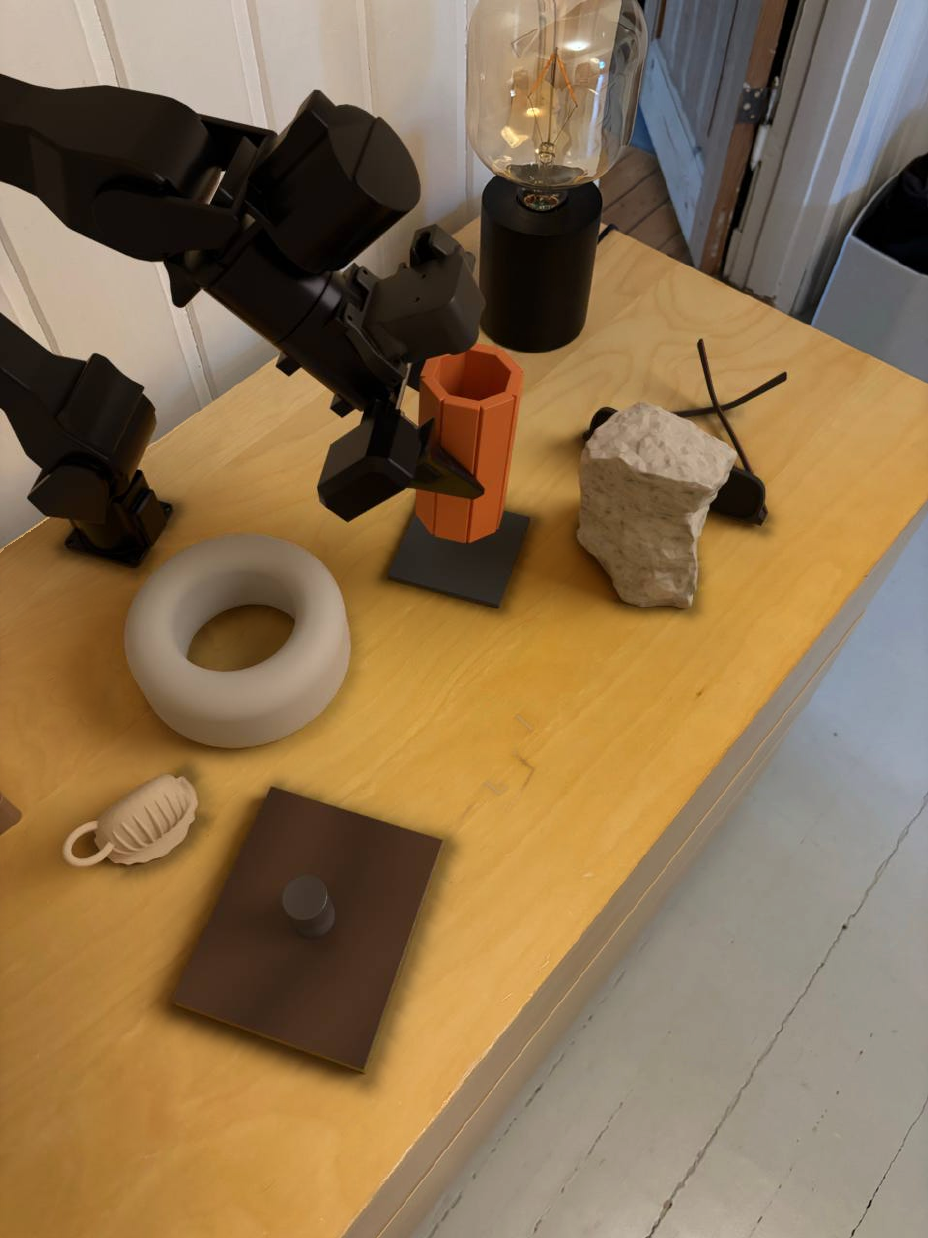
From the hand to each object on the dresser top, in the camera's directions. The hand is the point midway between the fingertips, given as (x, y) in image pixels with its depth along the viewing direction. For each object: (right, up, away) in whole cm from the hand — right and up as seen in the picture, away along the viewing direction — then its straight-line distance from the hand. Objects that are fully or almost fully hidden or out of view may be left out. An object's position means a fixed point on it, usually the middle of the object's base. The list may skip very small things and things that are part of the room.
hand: (486, 459), depth 62 cm
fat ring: (-17, -14, +7) cm, 23 cm away
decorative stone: (+12, -6, +12) cm, 18 cm away
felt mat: (-2, -5, +12) cm, 13 cm away
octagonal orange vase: (-2, -3, +4) cm, 5 cm away
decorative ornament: (-22, -25, 0) cm, 33 cm away
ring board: (-11, -29, -4) cm, 32 cm away
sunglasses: (+19, +5, +19) cm, 27 cm away
